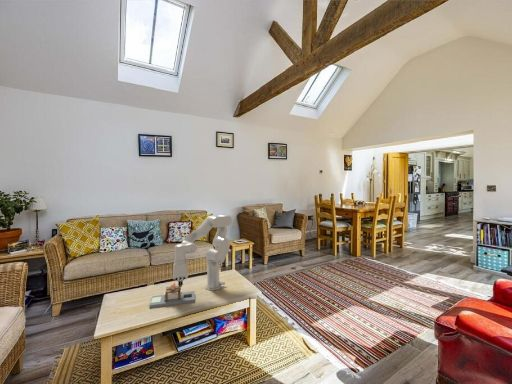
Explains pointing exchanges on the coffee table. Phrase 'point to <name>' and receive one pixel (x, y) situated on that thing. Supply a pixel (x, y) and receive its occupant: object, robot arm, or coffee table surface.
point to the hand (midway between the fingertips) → (180, 286)
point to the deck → (172, 300)
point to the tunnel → (168, 290)
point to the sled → (173, 295)
